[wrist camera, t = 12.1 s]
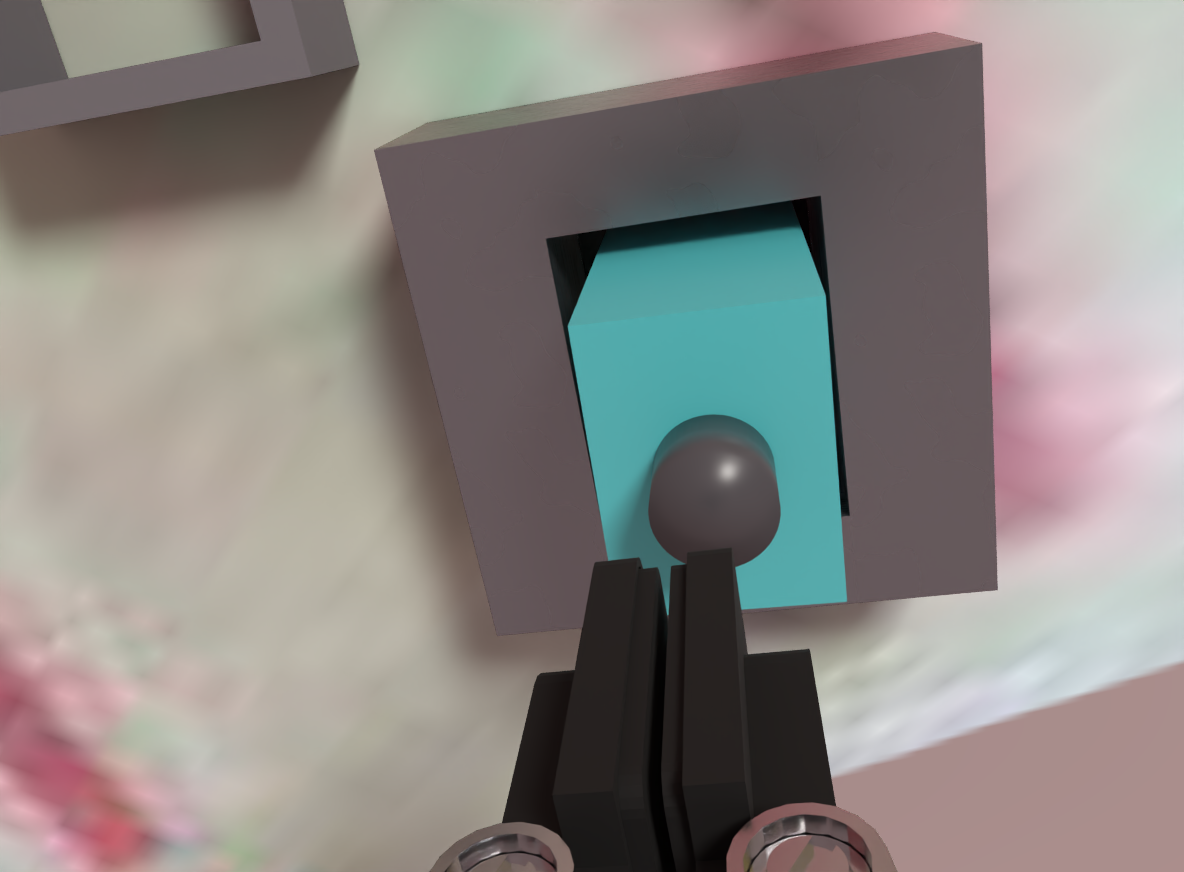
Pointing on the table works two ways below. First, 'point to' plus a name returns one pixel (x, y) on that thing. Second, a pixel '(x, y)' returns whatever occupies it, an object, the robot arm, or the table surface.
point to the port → (698, 186)
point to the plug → (714, 401)
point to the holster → (162, 64)
